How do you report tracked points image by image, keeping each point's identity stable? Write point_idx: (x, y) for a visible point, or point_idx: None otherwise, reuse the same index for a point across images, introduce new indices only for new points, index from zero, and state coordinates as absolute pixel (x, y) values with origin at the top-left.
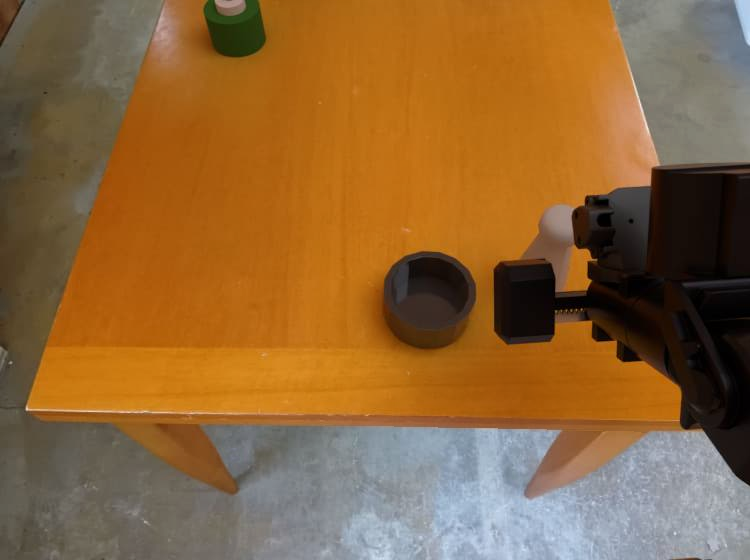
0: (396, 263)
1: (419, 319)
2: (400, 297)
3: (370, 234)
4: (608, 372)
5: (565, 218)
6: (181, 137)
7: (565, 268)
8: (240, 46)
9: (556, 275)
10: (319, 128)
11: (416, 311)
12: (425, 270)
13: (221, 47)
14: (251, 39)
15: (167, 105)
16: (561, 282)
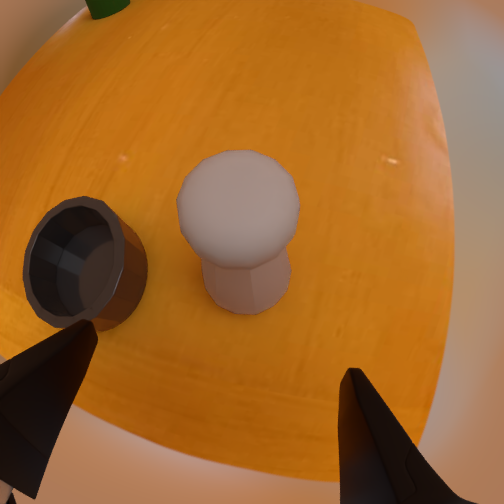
0: (51, 210)
1: (79, 286)
2: (72, 250)
3: (87, 160)
4: (300, 426)
5: (232, 195)
6: (31, 77)
7: (266, 286)
8: (101, 11)
9: (245, 294)
10: (114, 56)
11: (79, 274)
12: (100, 220)
13: (92, 14)
14: (110, 5)
15: (41, 57)
16: (264, 299)
